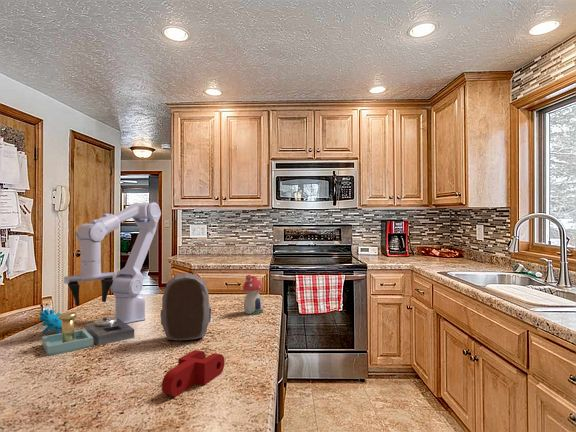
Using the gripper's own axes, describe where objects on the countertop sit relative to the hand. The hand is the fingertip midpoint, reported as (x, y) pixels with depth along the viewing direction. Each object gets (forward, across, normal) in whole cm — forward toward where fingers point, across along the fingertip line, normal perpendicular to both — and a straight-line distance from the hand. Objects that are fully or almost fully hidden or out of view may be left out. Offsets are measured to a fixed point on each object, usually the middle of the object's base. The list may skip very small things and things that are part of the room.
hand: (90, 303), depth 117 cm
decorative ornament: (+10, -54, +14) cm, 56 cm away
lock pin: (+9, +8, +9) cm, 15 cm away
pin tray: (+9, +8, +9) cm, 15 cm away
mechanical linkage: (+10, -8, +54) cm, 56 cm away
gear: (+10, +8, -8) cm, 15 cm away
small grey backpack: (+10, -21, +25) cm, 34 cm away
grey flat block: (+9, -4, +6) cm, 12 cm away
